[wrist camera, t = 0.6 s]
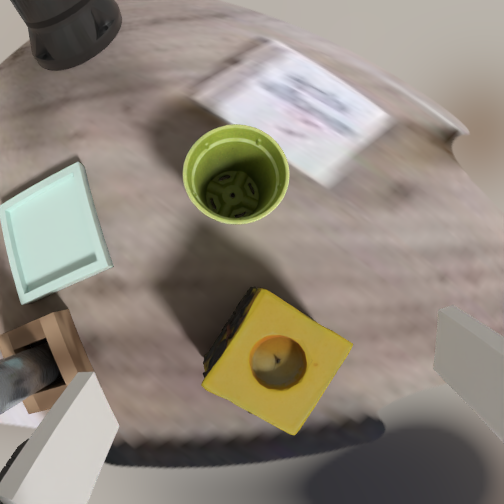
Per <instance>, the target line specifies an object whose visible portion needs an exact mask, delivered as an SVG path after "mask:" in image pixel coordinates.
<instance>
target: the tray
mask: <svg viewBox="0 0 504 504" xmlns="http://www.w3.org/2000/svg"><path fill="white" fill-rule="evenodd" d="M0 219H1V225H2V230H3V235H4V240H5V245H6V250H7V254H8V258H9V263H10V267H11V271H12V274H13V278H14V282H15V285H16V289H17V292H18V296H19V299H20V302H21V305H24V304H30V303H32V302H35V301H37V300H39V299H41V298H43V297H46V296H48V295H50V294H52V293H55V292H57V291H59V290H61V289H63V288H66V287H68V286H70V285H72V284H75V283H77V282H79V281H82V280H84V279H86V278H89V277H91V276H93V275H95V274H98V273H100V272H102V271H105V270H107V269H109V268H112V267H114V266H113V263H112V260H111V257H110V254H109V251H108V248H107V245H106V242H105V239H104V236H103V233H102V229H101V226H100V223H99V219H98V216H97V213H96V209H95V206H94V202H93V198H92V195H91V191H90V187H89V183H88V179H87V175H86V171H85V167H84V166H83V165H82V164H81V163H80V162H76V163H74V164H72V165H70V166H68V167H66V168H65V169H63V170H61V171H59V172H57V173H55V174H53V175H51V176H49V177H48V178H46V179H44V180H42V181H40V182H39V183H37V184H35V185H33V186H31V187H30V188H28V189H26V190H25V191H23V192H21V193H19V194H18V195H16V196H14V197H13V198H11V199H10V200H8V201H6V202H5V203H3V204H2V205H0Z"/></svg>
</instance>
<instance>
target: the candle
mask: <svg viewBox="0 0 504 504" xmlns="http://www.w3.org/2000/svg"><path fill="white" fill-rule="evenodd" d="M352 346H353V344H352V343H351V342H349V341H348V340H346V339H344V338H343V337H341V336H340V335H338V334H337V333H335V332H333V331H332V330H330V329H327V328H325V327H323V326H322V325H320V324H318V323H317V322H316V321H314V320H313V319H312V318H310V317H309V316H307V315H306V314H304V313H303V312H301V311H299V310H297V309H296V308H294V307H293V306H291V305H290V304H288V303H286V302H285V301H283V300H282V299H280V298H279V297H277V296H276V295H274V294H273V293H271V292H270V291H268V290H266V289H264V288H258V289H257V288H256V287H250V289H249V290H248V291H247V293H246V295H245V296H244V297H243V300H242V301H241V302H240V303H239V304H238V306H237V308H236V311H234V312H233V315H232V316H231V318H230V320H228V322H227V323H226V325H225V326H224V328H223V329H222V333H221V334H220V336H219V338H218V339H217V341H216V342H215V343H214V345H213V346H212V348H211V350H210V351H209V352H208V353H207V354H206V355H205V357H204V362H203V364H204V369H205V372H204V373H203V376H204V380H203V381H202V384H201V385H202V386H203V387H204V388H205V390H207V391H209V392H211V393H213V394H215V395H218V396H220V397H222V398H225V399H227V400H229V401H231V402H232V403H234V404H235V405H237V406H239V407H241V408H243V409H245V410H247V411H248V412H249V413H251V414H254V415H256V416H258V417H260V418H261V419H263V420H265V421H267V422H268V423H270V424H272V425H273V426H275V427H277V428H279V429H281V430H283V431H285V432H287V433H289V434H291V435H295V434H297V432H298V431H299V430H300V428H301V427H302V425H303V424H304V422H305V421H306V419H307V418H308V416H309V415H310V413H311V412H312V410H313V409H314V407H315V405H316V404H317V402H318V401H319V399H320V397H321V396H322V394H323V393H324V391H325V390H326V388H327V387H328V385H329V383H330V382H331V380H332V379H333V377H334V376H335V374H336V372H337V371H338V369H339V368H340V366H341V364H342V363H343V361H344V360H345V358H346V357H347V355H348V354H349V352H350V350H351V348H352Z"/></svg>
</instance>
